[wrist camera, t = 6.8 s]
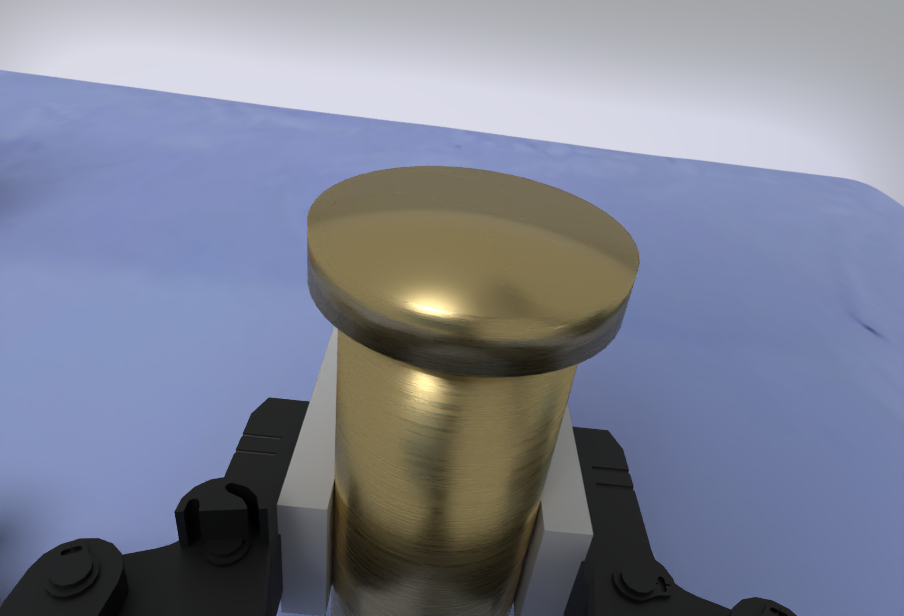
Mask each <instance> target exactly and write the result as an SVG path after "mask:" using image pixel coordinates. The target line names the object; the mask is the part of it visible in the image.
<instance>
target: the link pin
mask: <svg viewBox="0 0 904 616" xmlns="http://www.w3.org/2000/svg"><path fill="white" fill-rule="evenodd" d="M307 263H308V287H309V291H310V295H311V297H312V299H313V301H314V303H315V305H316V306H317V308H318V309H319V310H320V311H321V313H322V314H323V315H324V317H325V318H326V319H327V320H328V321H330V322H331V323H332V324H333V325H334V326H335V327H336V328H337V329H338V341H337V382H336V424H335V466H334V473H335V483H334V524H333V564H332V590H331V616H509V615H510V612H511V608H512V604H513V601H514V597H515V593H516V590H517V586H518V582H519V579H520V575H521V571H522V567H523V564H524V560H525V556H526V553H527V549H528V545H529V542H530V538H531V534H532V531H533V527H534V523H535V520H536V516H537V512H538V508H539V505H540V501H541V497H542V494H543V490H544V486H545V483H546V479H547V475H548V472H549V468H550V464H551V460H552V457H553V453H554V449H555V446H556V442H557V438H558V435H559V431H560V427H561V424H562V420H563V416H564V413H565V409H566V405H567V401H568V398H569V394H570V390H571V387H572V383H573V379H574V376H575V372H576V368H577V365H578V364H579V363H581V362H583V361H585V360H587V359H589V358H591V357H593V356H595V355H596V354H597V353H599V352H600V351H602V350H603V349H604V348H606V347H607V346H608V345H609V344H610V342H611V341H612V340H613V339H614V338H615V337H616V335H617V333H618V331H619V329H620V328H621V324H622V321H623V318H624V314H625V311H626V308H627V305H628V301H629V298H630V295H631V291H632V288H633V285H634V281H635V278H636V275H637V271H638V267H639V264H640V261H639V252H638V249H637V246H636V244H635V242H634V240H633V239H632V237H631V235H630V234H629V233H628V232H627V231H626V230H625V228H624V227H623V226H622V225H621V224H620V223H618V222H617V221H616V220H615V219H614V218H613V217H611V216H610V215H608V214H607V213H606V212H604V211H603V210H601V209H600V208H598V207H596V206H594V205H593V204H591V203H589V202H587V201H585V200H583V199H581V198H579V197H577V196H575V195H573V194H570V193H568V192H565V191H563V190H561V189H558V188H555V187H552V186H549V185H546V184H543V183H540V182H537V181H533V180H530V179H526V178H522V177H518V176H514V175H509V174H504V173H499V172H493V171H487V170H480V169H472V168H462V167H446V166H415V167H401V168H392V169H385V170H379V171H373V172H369V173H365V174H361V175H358V176H355V177H352V178H349V179H346V180H344V181H342V182H340V183H338V184H335V185H334V186H332V187H330V188H329V189H327V190H326V191H324V192H323V193H322V194H321V195H320V196H319V197H318V198H317V199H316V200H315V201H314V203H313V204H312V206H311V207H310V210H309V213H308V218H307Z"/></svg>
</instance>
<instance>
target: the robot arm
mask: <svg viewBox="0 0 904 616" xmlns="http://www.w3.org/2000/svg"><path fill="white" fill-rule="evenodd" d="M337 341H338V329H337V328H336V327H335V326H334V328H333V331H332V334H331V337H330V341H329V344H328V347H327V350H326V353H325V356H324V359H323V362H322V365H321V369H320V372H319V375H318V378H317V381H316V384H315V387H314V390H313V394H312V397H311V400H310V402H308V401H298V400H289V399H279V398H268V399H267V400H266V401H265V402H264V403H262V404H261V405H260V406H259V407H258V408H257V409H256V410H255V411H254V412H253V413H251V416H250V418H249V420H248V423H247V425H246V427H245V430H244V432H243V437H241V439H240V441H239V444H238V446H237V448H236V453H234V455H233V458H232V460H231V462H230V465H229V467H228V469H227V472H226V474H225V476H224V477H223V478H217V479H211V480H209V481H206V482H204V483H202V484H200V485H198V486H196V487H194V488H193V489H192V490H190V491H189V492H188V493H187V494H186V495H185V496H184V497H183V498H182V499H181V500H180V502H179V504H178V506H177V508H176V510H175V518H176V524H177V530H178V536H179V541H177V542H175V543H173V544H171V545H167V546H164V547H160V548H156V549H151V550H146V551H140V552H135V553H129V554H124V555H122V554H121V552H120V551H119V550H118V549H117V548H116V547H115V546H114V544H113V543H110V542H107V541H104V540H102V539H99V538H83V539H77V540H74V541H70V542H67V543H63V544H60V545H59V546H57V547H55V548H54V549H52V550H50V551H48V552H47V553H45V554H43V555H42V556H41V557H40V558H39V559H38V560H37V561H36V562H35V563H34V564H33V565H32V566H31V567H30V568H29V569H28V570H27V572H26V573H25V574H24V576H23V577H22V578H21V580H20V581H19V582H18V584H17V585H16V586H15V588H14V589H13V590H12V592H11V593H10V594H9V596H8V597H7V598H6V600H5V601H4V602H3V604H2V605H1V606H0V616H276V614H277V611H278V607H279V603H280V600H281V612H285V613H296V614H308V615H319V616H325V615H326V610H327V605H328V600H329V596H330V591H331V586H332V564H333V524H334V483H335V473H334V466H335V424H336V382H337ZM628 471H629V469H628V466H627V462H626V458H625V455H624V451H623V449H622V448H621V446H620V445H619V444H618V442H617V441H616V440H615V439H614V437H613V436H612V435H611V434H610V432H609V431H608V430H598V429H589V428H579V427H572V423H571V418H570V413H569V408H568V403H567V405H566V409H565V413H564V416H563V420H562V424H561V427H560V431H559V435H558V438H557V442H556V446H555V449H554V453H553V457H552V460H551V464H550V468H549V472H548V475H547V479H546V483H545V486H544V490H543V494H542V497H541V501H540V505H539V508H538V512H537V516H536V520H535V523H534V527H533V531H532V534H531V538H530V542H529V545H528V549H527V553H526V556H525V560H524V564H523V567H522V571H521V575H520V579H519V582H518V586H517V590H516V593H515V597H514V616H797V615H795V614H794V613H793V612H792V611H791V610H790V609H788V608H786V607H784V606H782V605H780V604H778V603H776V602H774V601H772V600H767V599H763V598H758V597H754V598H748V599H743V600H741V601H740V602H739V603H738V604H736V605H735V606H734V607H733V608H732V610H731V609H728V608H726V607H723V606H720V605H718V604H715V603H713V602H710V601H707V600H705V599H702V598H700V597H697V596H695V595H693V594H691V593H689V592H687V591H685V590H683V589H682V588H681V587H679V586H678V585H676V584H675V583H674V580H673V578H672V577H671V576H670V574H669V573H668V572H667V570H666V569H665V568H664V566H663V565H661V564H660V563H659V562H657V561H656V560H655V558H654V556H653V553H652V551H651V547H650V544H649V540H648V537H647V533H646V530H645V526H644V522H643V519H642V515H641V512H640V508H639V505H638V501H637V498H636V494H635V491H633V483H632V480H631V476H630V474H629V473H628Z"/></svg>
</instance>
